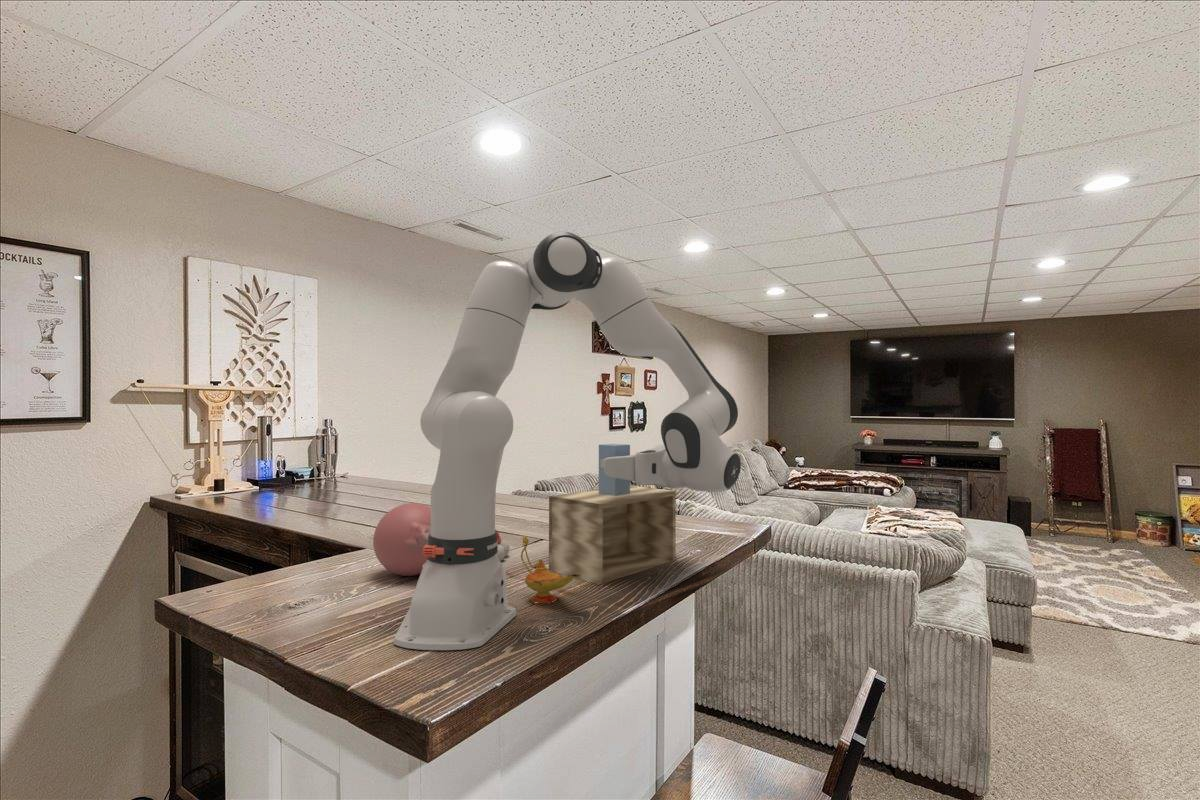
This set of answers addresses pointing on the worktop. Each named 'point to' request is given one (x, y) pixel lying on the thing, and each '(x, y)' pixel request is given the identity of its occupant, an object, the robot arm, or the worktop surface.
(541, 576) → the magic lamp
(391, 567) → the pink ball
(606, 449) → the slate block
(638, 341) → the robot arm
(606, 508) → the birch cubby
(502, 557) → the multicolored small figure
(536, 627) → the worktop surface
